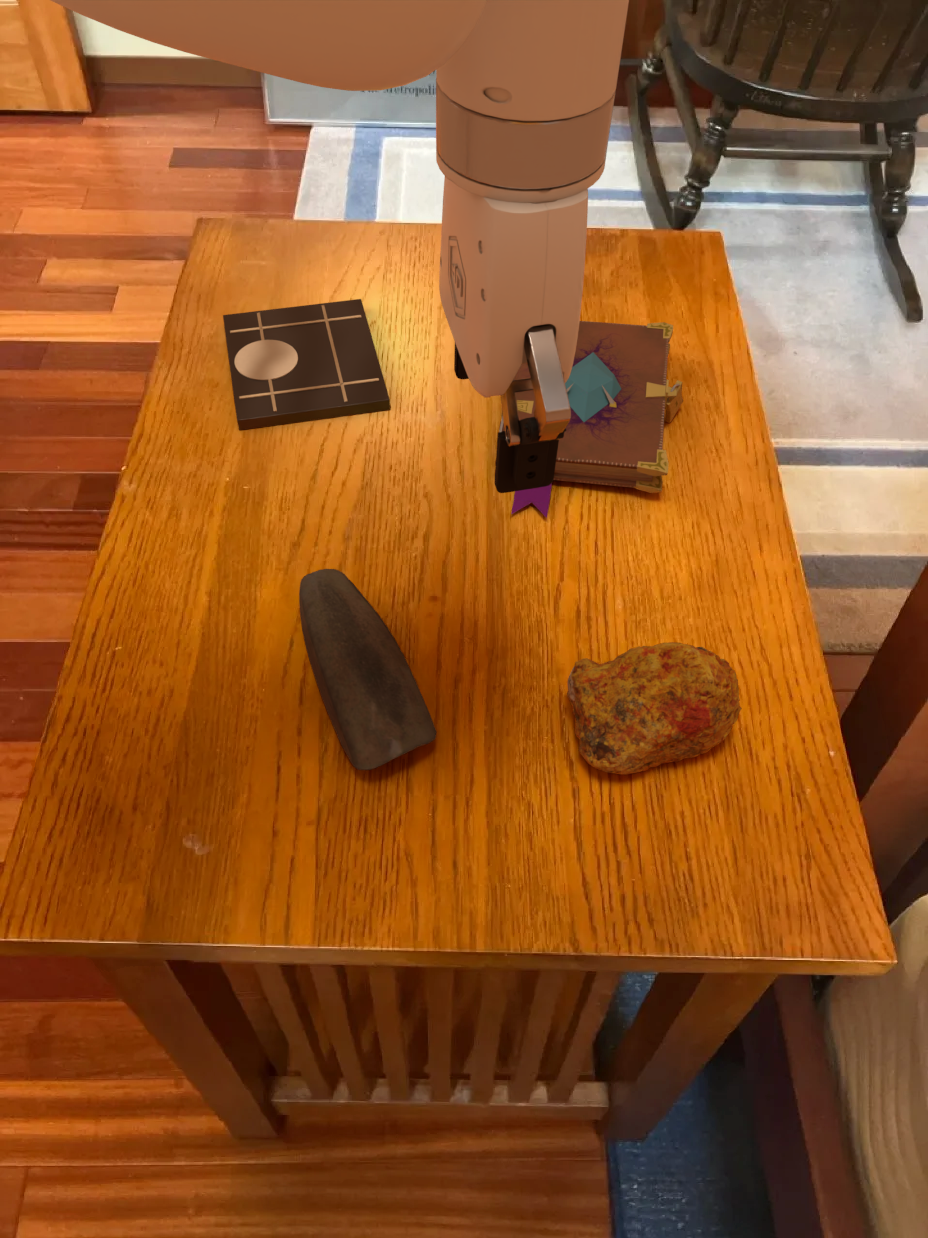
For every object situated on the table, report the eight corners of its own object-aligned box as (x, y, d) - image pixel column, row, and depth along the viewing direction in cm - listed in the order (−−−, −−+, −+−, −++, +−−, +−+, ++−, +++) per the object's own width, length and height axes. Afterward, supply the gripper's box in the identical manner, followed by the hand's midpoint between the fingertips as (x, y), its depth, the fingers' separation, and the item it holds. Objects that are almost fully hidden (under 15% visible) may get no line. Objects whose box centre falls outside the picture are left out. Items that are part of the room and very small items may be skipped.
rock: (656, 811, 68) (574, 775, 61) (611, 725, 73) (532, 684, 67) (779, 718, 64) (704, 669, 57) (721, 635, 70) (648, 582, 63)
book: (484, 520, 80) (483, 478, 76) (521, 344, 95) (522, 301, 91) (676, 539, 78) (686, 497, 74) (683, 356, 93) (692, 313, 89)
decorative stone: (445, 757, 65) (445, 727, 62) (359, 791, 64) (355, 762, 60) (358, 583, 74) (354, 548, 71) (281, 608, 73) (273, 575, 69)
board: (239, 430, 85) (236, 419, 84) (224, 324, 94) (222, 313, 93) (390, 409, 87) (389, 398, 86) (361, 308, 96) (361, 297, 95)
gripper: (399, 45, 45) (408, 343, 58) (487, 245, 35) (473, 547, 48) (549, 34, 46) (523, 329, 59) (676, 224, 36) (609, 525, 49)
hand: (500, 426), depth 54 cm, fingers open, 9 cm apart
